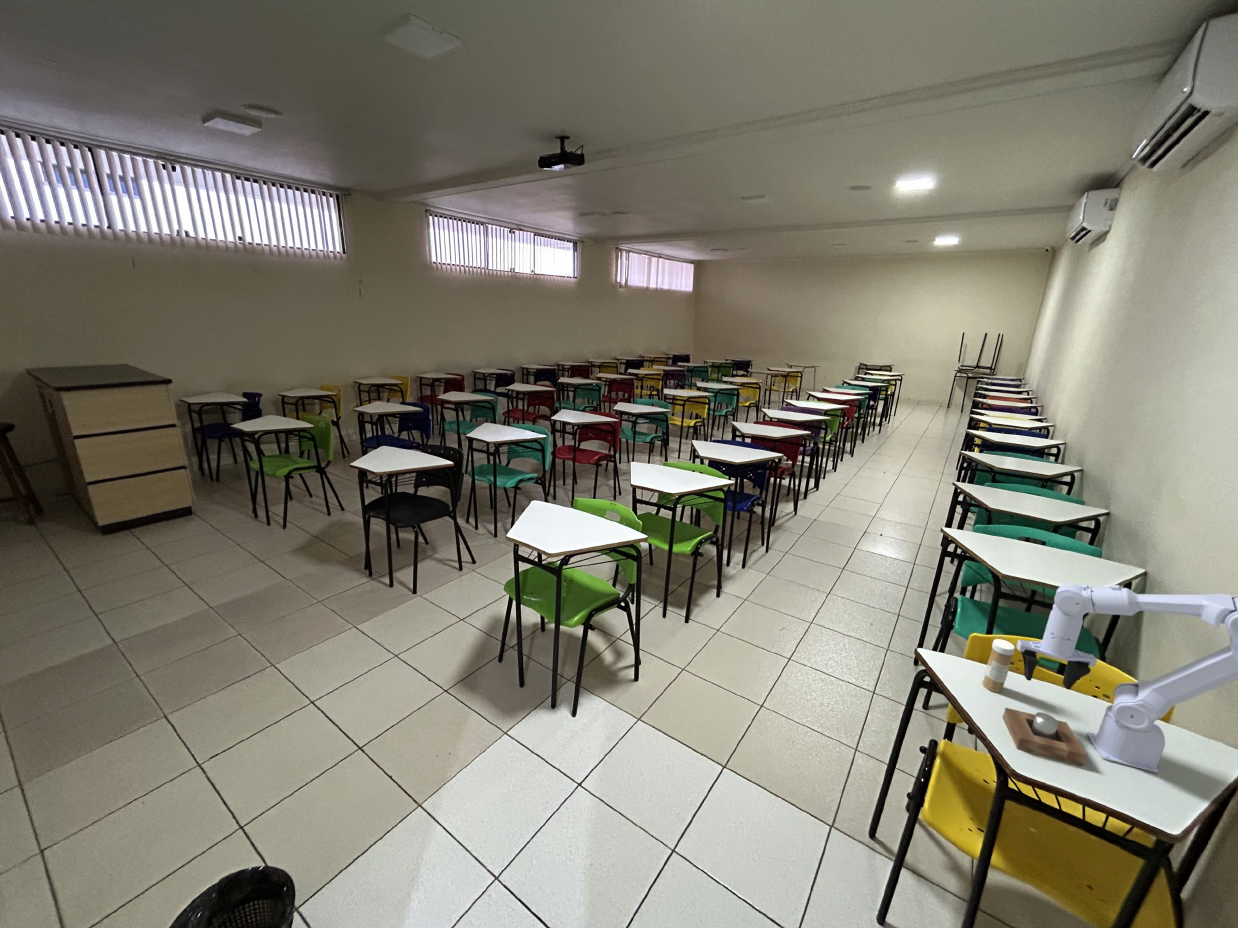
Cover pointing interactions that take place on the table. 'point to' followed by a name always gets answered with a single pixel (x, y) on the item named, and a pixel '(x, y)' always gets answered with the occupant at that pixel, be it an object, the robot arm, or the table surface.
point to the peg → (1044, 725)
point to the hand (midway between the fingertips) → (1046, 682)
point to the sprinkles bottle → (998, 665)
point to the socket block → (1058, 748)
